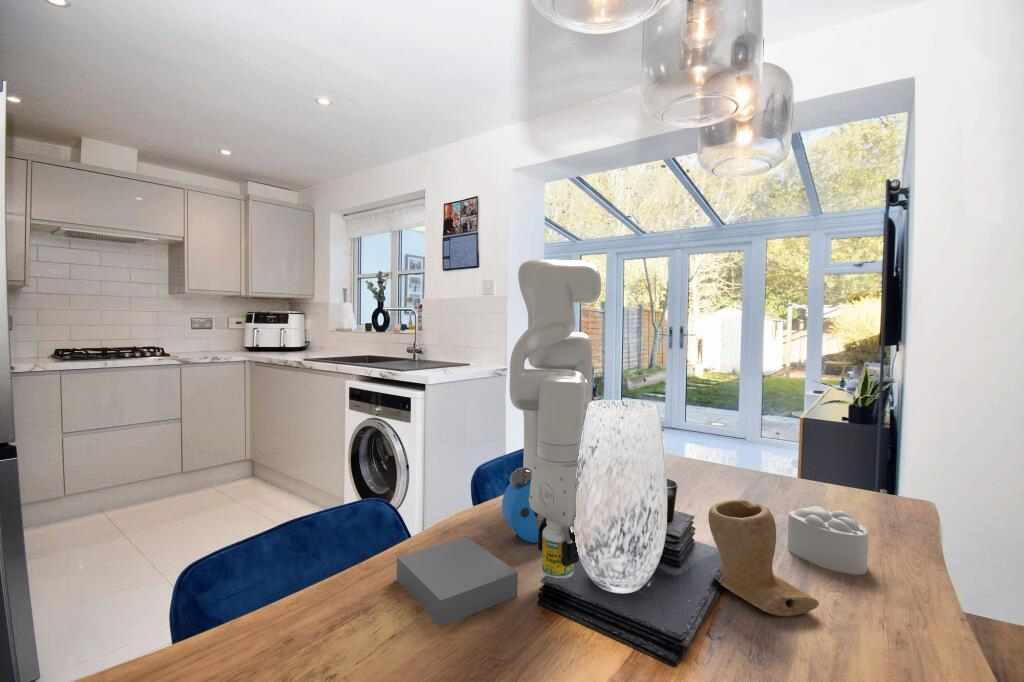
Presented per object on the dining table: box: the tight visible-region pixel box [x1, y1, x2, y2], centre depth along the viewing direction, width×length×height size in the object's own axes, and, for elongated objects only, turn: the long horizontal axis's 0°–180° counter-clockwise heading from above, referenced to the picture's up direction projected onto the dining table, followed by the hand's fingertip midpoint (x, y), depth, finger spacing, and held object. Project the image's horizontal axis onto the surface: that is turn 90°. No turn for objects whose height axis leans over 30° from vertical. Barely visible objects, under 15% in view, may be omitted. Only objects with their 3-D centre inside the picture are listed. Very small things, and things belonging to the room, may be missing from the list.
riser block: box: [396, 536, 519, 628], centre depth 81 cm, size 14×16×4 cm
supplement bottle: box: [541, 519, 575, 579], centre depth 82 cm, size 5×5×10 cm
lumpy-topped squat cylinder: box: [786, 505, 869, 576], centre depth 94 cm, size 10×13×9 cm
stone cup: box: [707, 499, 820, 617], centre depth 80 cm, size 15×12×15 cm
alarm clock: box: [501, 467, 539, 544], centre depth 100 cm, size 13×6×15 cm, turn 112°
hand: (557, 554), depth 82 cm, fingers closed on supplement bottle, 5 cm apart
